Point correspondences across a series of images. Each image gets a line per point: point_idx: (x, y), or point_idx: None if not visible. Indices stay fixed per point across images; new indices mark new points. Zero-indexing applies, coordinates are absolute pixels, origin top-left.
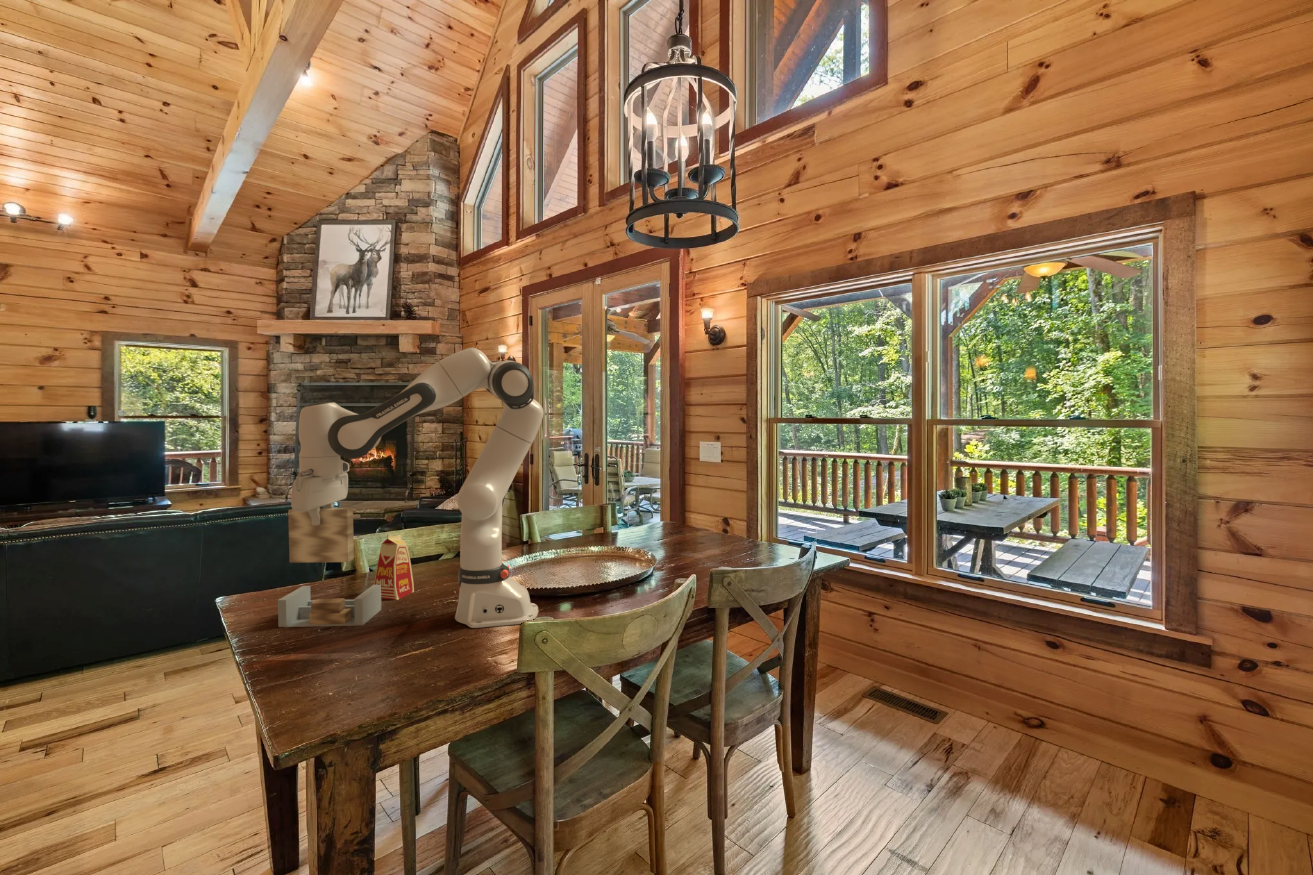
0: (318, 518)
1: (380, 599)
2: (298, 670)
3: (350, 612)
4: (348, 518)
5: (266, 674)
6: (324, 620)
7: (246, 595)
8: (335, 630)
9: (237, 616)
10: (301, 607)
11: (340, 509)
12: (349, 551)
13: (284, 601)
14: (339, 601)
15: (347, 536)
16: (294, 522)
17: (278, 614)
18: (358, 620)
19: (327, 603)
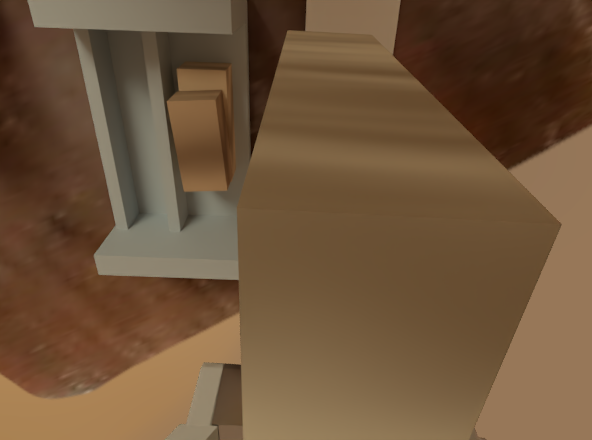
0: (474, 437)
1: None
2: (538, 58)
3: (184, 66)
4: (435, 136)
5: (534, 129)
6: (232, 130)
7: (26, 387)
8: (249, 84)
9: (157, 346)
10: (180, 224)
11: (460, 359)
12: (357, 43)
13: None
14: (204, 105)
15: (411, 74)
16: None
17: None
18: (243, 9)
19: (221, 140)
